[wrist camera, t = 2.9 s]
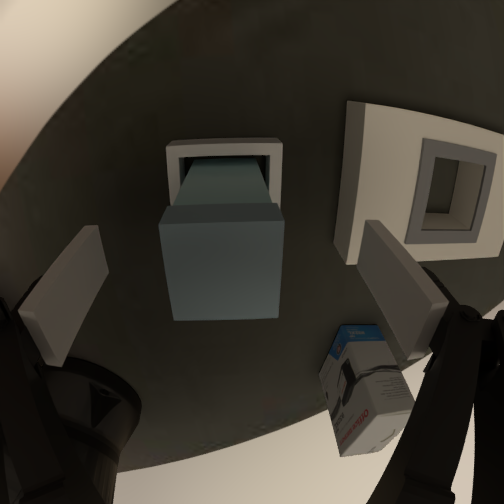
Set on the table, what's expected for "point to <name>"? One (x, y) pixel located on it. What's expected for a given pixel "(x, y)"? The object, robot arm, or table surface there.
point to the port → (419, 184)
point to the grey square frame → (220, 148)
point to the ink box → (364, 391)
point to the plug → (223, 243)
